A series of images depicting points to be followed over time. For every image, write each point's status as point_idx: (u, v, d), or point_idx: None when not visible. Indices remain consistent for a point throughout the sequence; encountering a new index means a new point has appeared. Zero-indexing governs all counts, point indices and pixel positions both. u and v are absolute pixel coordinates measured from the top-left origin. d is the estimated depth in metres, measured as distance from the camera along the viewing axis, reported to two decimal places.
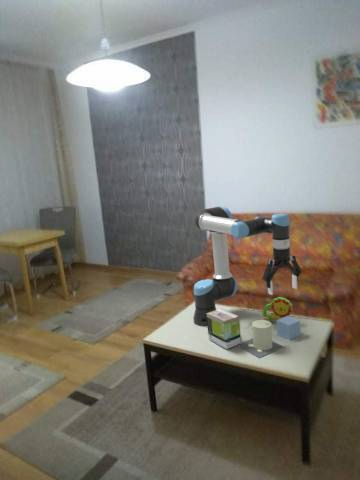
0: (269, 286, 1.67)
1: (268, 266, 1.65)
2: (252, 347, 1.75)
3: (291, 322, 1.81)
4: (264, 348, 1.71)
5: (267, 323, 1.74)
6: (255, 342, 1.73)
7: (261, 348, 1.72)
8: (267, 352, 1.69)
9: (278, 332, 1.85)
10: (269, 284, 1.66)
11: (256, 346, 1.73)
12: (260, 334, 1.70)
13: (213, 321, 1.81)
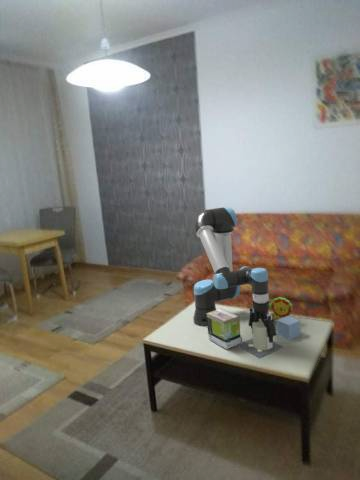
0: None
1: None
2: (252, 347, 1.75)
3: (291, 322, 1.81)
4: (264, 348, 1.71)
5: None
6: (255, 342, 1.73)
7: (261, 348, 1.72)
8: (267, 352, 1.69)
9: (278, 332, 1.85)
10: None
11: (256, 346, 1.73)
12: (260, 334, 1.70)
13: (213, 322, 1.81)
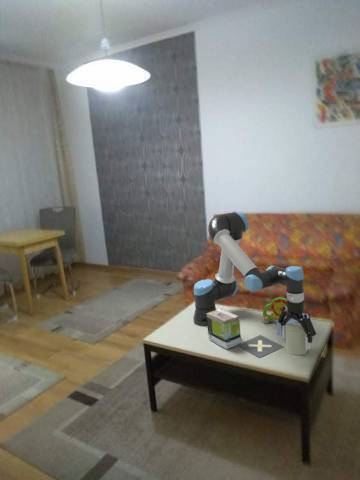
0: (282, 329, 1.74)
1: None
2: (252, 347, 1.75)
3: (291, 322, 1.81)
4: (299, 353, 1.65)
5: (301, 327, 1.67)
6: (289, 346, 1.67)
7: (296, 352, 1.65)
8: (267, 352, 1.69)
9: (278, 332, 1.85)
10: None
11: (290, 351, 1.67)
12: (295, 338, 1.64)
13: (213, 321, 1.81)
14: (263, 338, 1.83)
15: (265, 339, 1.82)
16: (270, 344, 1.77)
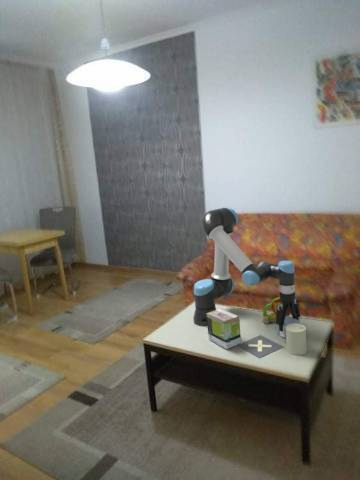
0: (282, 330, 1.81)
1: (278, 312, 1.79)
2: (252, 347, 1.75)
3: (291, 322, 1.81)
4: (299, 353, 1.65)
5: None
6: (289, 346, 1.67)
7: (296, 352, 1.65)
8: (267, 352, 1.69)
9: (278, 332, 1.85)
10: (282, 328, 1.81)
11: (290, 351, 1.67)
12: (295, 338, 1.64)
13: (213, 321, 1.81)
14: (263, 338, 1.83)
15: (265, 339, 1.82)
16: (270, 344, 1.77)
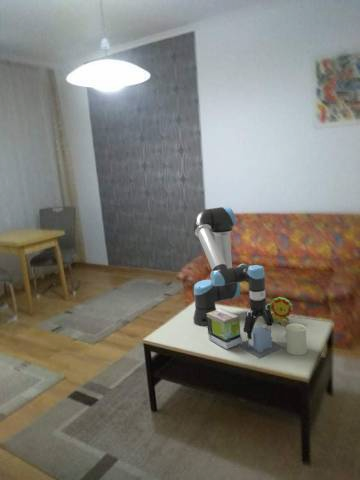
0: (250, 337, 1.71)
1: (247, 318, 1.69)
2: None
3: (262, 332, 1.72)
4: (299, 353, 1.65)
5: None
6: (289, 346, 1.67)
7: (296, 352, 1.65)
8: (267, 352, 1.69)
9: None
10: (250, 335, 1.71)
11: (290, 351, 1.67)
12: (295, 338, 1.64)
13: (213, 321, 1.81)
14: None
15: None
16: None
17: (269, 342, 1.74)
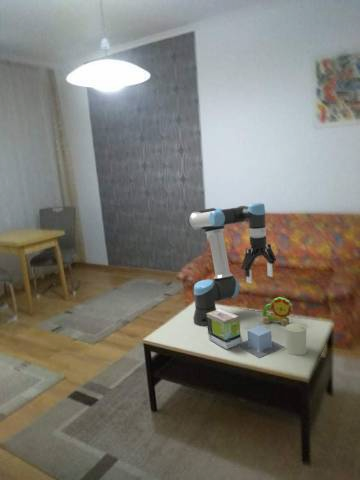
0: (248, 275, 1.68)
1: (247, 255, 1.67)
2: None
3: (262, 332, 1.72)
4: (299, 353, 1.65)
5: None
6: (289, 346, 1.67)
7: (296, 352, 1.65)
8: (267, 352, 1.69)
9: (249, 343, 1.77)
10: (248, 273, 1.68)
11: (290, 351, 1.67)
12: (295, 338, 1.64)
13: (213, 321, 1.81)
14: None
15: None
16: None
17: (269, 342, 1.74)
